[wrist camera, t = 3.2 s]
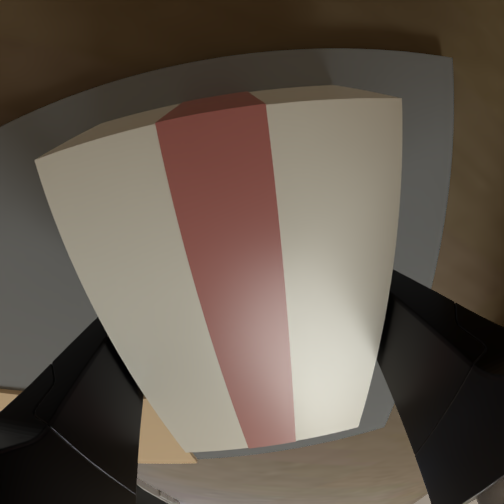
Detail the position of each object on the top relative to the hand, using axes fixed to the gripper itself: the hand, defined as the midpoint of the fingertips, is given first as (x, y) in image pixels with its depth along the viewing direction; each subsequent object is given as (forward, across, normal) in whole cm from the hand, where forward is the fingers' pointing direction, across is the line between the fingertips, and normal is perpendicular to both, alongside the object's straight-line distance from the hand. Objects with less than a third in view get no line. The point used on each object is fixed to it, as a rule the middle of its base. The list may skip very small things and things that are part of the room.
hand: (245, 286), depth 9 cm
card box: (+1, 0, 0) cm, 1 cm away
